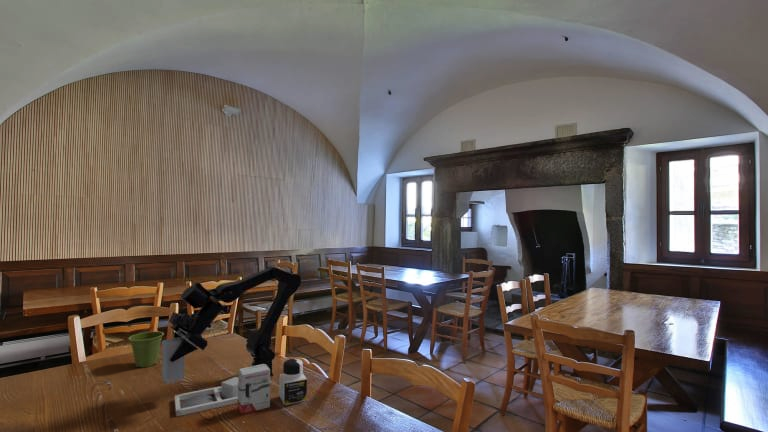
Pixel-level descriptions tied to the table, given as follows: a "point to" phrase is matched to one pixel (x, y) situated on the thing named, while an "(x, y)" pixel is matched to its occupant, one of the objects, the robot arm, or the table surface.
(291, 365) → the medicine bottle
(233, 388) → the small box
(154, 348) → the plant pot
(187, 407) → the frame
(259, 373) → the ink box
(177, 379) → the block
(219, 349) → the table surface
